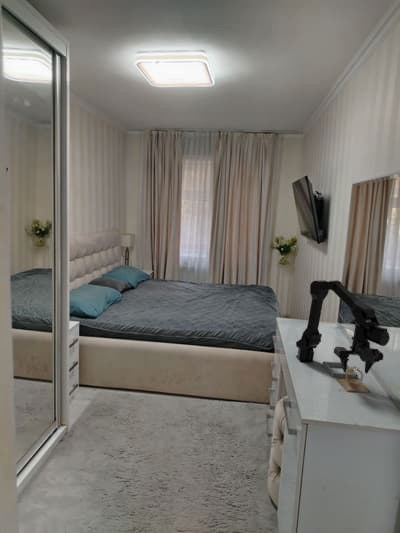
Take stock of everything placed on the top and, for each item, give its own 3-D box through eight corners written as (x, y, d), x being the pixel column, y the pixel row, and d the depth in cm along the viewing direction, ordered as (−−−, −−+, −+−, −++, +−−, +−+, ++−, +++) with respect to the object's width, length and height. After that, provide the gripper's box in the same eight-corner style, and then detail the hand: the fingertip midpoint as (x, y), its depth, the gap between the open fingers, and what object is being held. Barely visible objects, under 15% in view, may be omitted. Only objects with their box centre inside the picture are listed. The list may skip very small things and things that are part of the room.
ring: (344, 384, 153) (347, 366, 152) (343, 381, 156) (346, 363, 155) (362, 388, 151) (365, 369, 150) (361, 384, 154) (364, 366, 153)
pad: (346, 391, 148) (347, 390, 148) (336, 379, 158) (336, 378, 158) (370, 392, 149) (370, 391, 149) (358, 380, 159) (358, 379, 159)
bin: (333, 377, 160) (334, 373, 159) (322, 365, 172) (323, 361, 172) (357, 379, 160) (358, 374, 160) (344, 366, 173) (344, 362, 173)
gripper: (348, 343, 141) (342, 380, 144) (394, 345, 143) (387, 383, 145) (335, 333, 152) (330, 368, 155) (378, 335, 154) (372, 370, 156)
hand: (355, 372), depth 152 cm, fingers open, 9 cm apart
